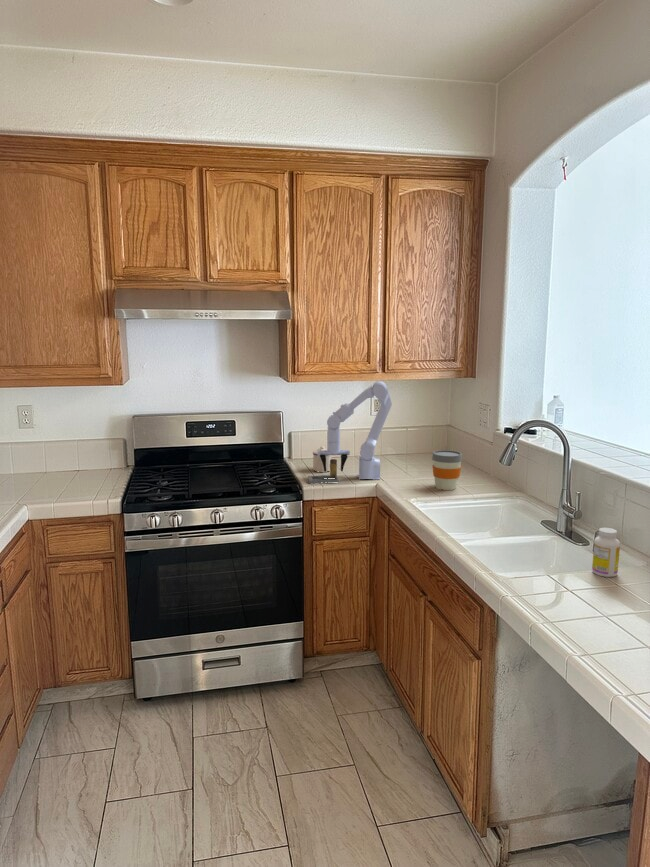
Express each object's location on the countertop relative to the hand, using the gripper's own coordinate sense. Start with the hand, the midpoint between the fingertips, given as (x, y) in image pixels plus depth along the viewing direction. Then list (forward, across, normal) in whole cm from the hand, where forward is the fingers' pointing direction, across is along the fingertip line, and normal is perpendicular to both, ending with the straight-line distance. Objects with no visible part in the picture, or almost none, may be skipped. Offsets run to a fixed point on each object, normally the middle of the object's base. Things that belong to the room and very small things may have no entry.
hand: (333, 470), depth 279 cm
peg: (+3, 0, 0) cm, 3 cm away
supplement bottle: (+3, -63, +115) cm, 131 cm away
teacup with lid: (+3, +4, -14) cm, 15 cm away
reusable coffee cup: (+3, -46, +22) cm, 51 cm away
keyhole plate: (+3, +6, +7) cm, 9 cm away
